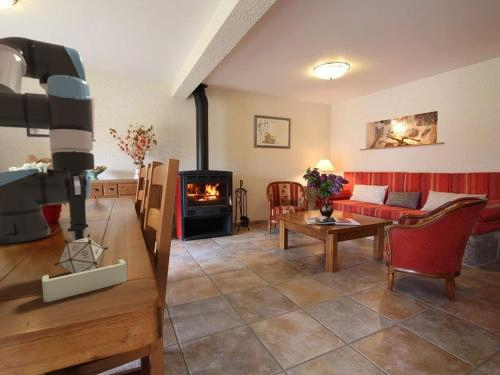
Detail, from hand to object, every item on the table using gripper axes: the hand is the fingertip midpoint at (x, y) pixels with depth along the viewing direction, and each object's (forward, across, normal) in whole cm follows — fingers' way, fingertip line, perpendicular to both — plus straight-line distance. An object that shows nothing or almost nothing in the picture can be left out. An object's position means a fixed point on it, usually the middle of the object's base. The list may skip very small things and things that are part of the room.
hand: (80, 258), depth 58 cm
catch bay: (+2, -13, 0) cm, 13 cm away
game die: (+2, -4, 0) cm, 5 cm away
